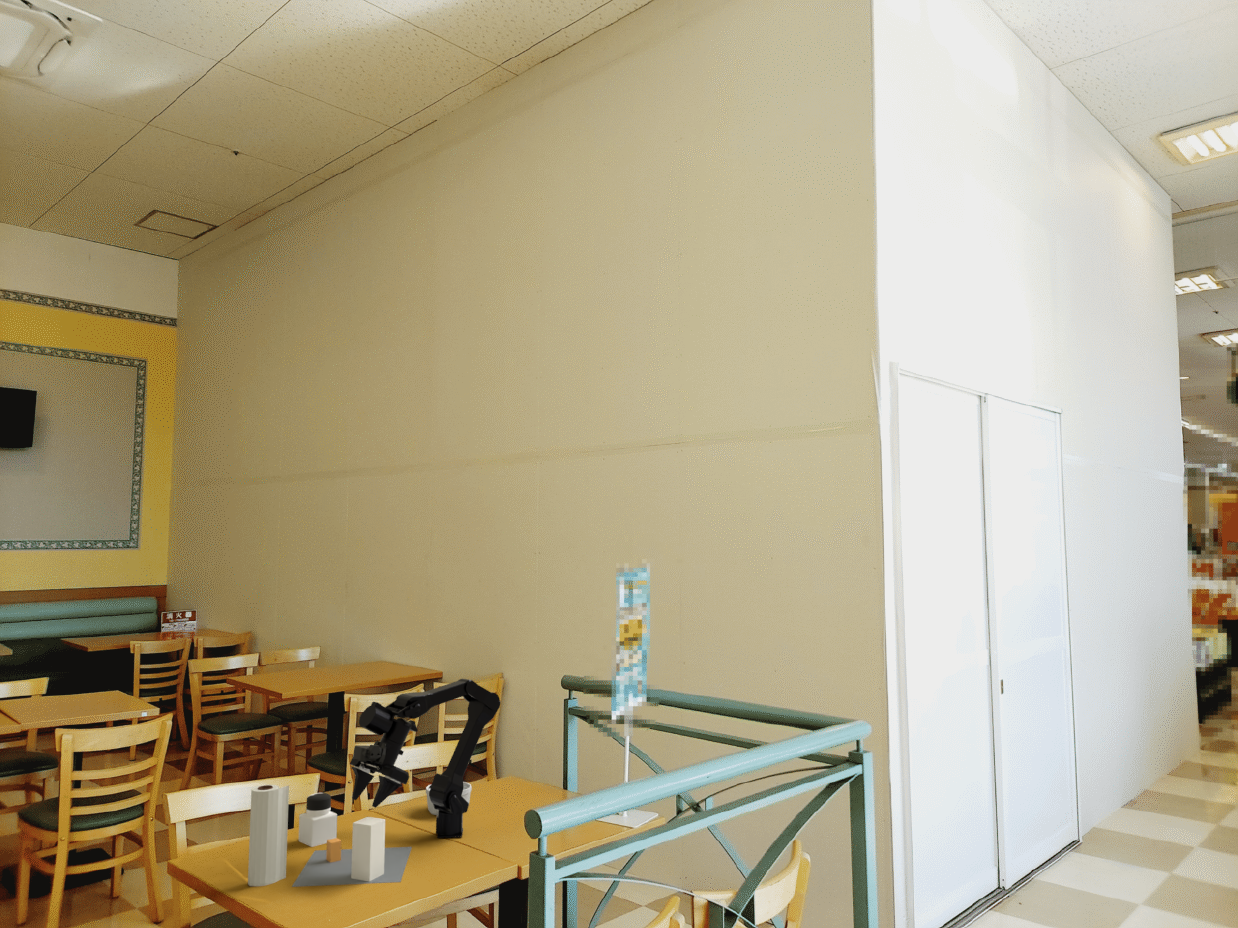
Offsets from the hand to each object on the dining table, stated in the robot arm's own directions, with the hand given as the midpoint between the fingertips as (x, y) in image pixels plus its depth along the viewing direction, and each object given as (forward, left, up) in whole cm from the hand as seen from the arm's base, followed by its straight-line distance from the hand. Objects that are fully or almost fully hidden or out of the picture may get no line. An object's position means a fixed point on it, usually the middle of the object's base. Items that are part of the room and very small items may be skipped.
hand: (363, 803), depth 220 cm
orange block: (+7, +1, -13) cm, 15 cm away
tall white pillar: (-3, +12, -13) cm, 18 cm away
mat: (+1, +5, -13) cm, 14 cm away
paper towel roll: (+20, +13, -14) cm, 27 cm away
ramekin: (-18, -39, -14) cm, 45 cm away
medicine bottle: (+14, -15, -14) cm, 25 cm away
